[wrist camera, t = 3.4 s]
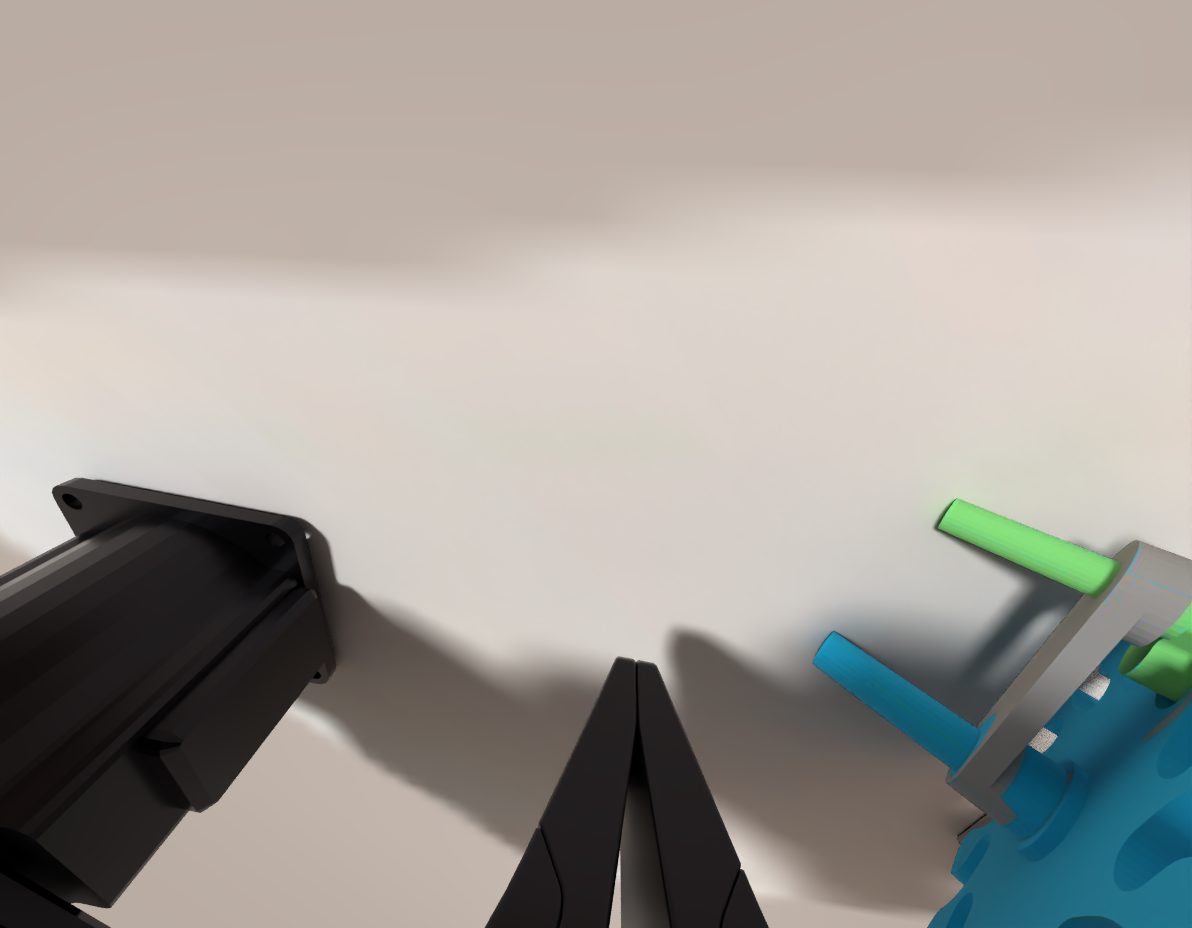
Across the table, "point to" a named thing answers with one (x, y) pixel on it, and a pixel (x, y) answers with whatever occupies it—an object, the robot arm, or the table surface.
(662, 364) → the table surface
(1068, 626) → the gear
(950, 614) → the table surface
